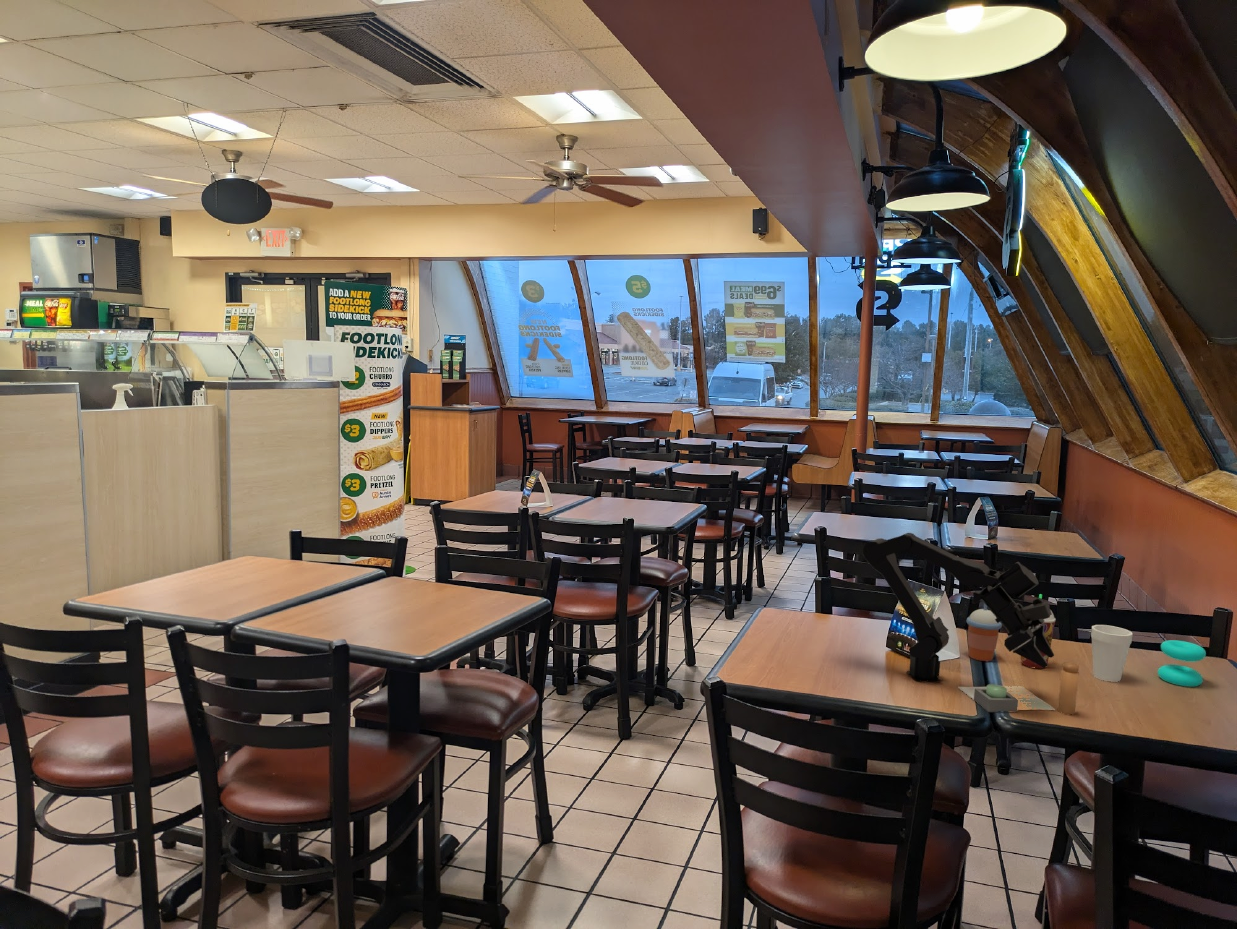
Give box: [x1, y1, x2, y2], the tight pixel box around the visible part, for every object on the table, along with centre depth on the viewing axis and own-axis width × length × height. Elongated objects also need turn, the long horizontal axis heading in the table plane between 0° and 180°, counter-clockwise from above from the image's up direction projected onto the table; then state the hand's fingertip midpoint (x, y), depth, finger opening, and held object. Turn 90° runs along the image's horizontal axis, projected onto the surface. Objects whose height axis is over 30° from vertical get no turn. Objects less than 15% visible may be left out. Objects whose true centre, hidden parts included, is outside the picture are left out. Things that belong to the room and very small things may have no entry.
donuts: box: [1157, 639, 1207, 688], centre depth 226 cm, size 10×10×10 cm
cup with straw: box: [966, 603, 1003, 662], centre depth 238 cm, size 9×9×18 cm
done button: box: [986, 683, 1007, 698], centre depth 204 cm, size 4×4×3 cm
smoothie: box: [1020, 593, 1056, 669], centre depth 233 cm, size 8×8×20 cm
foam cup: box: [1090, 624, 1133, 683], centre depth 226 cm, size 10×9×13 cm
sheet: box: [957, 685, 1056, 713], centre depth 208 cm, size 17×16×3 cm
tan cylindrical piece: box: [1057, 662, 1080, 716], centre depth 202 cm, size 4×4×12 cm
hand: (1049, 661), depth 204 cm, fingers open, 9 cm apart
